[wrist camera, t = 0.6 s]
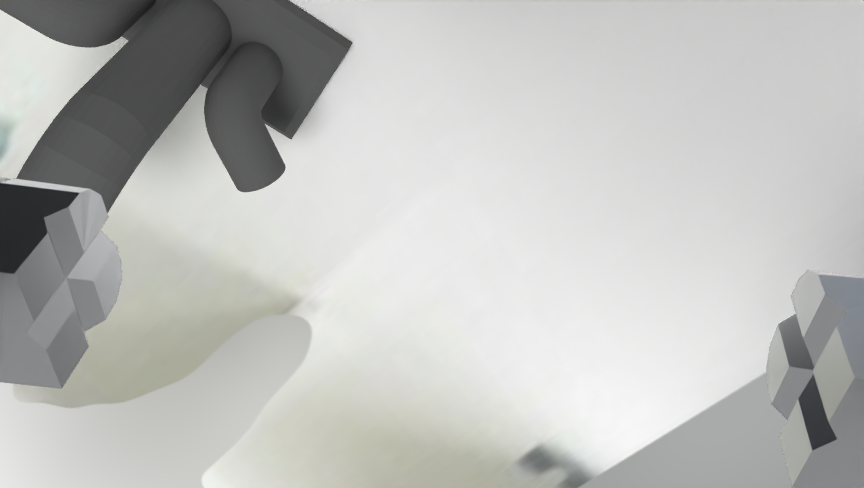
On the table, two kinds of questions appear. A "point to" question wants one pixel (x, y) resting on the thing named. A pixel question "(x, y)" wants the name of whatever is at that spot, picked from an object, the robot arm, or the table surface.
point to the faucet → (180, 83)
